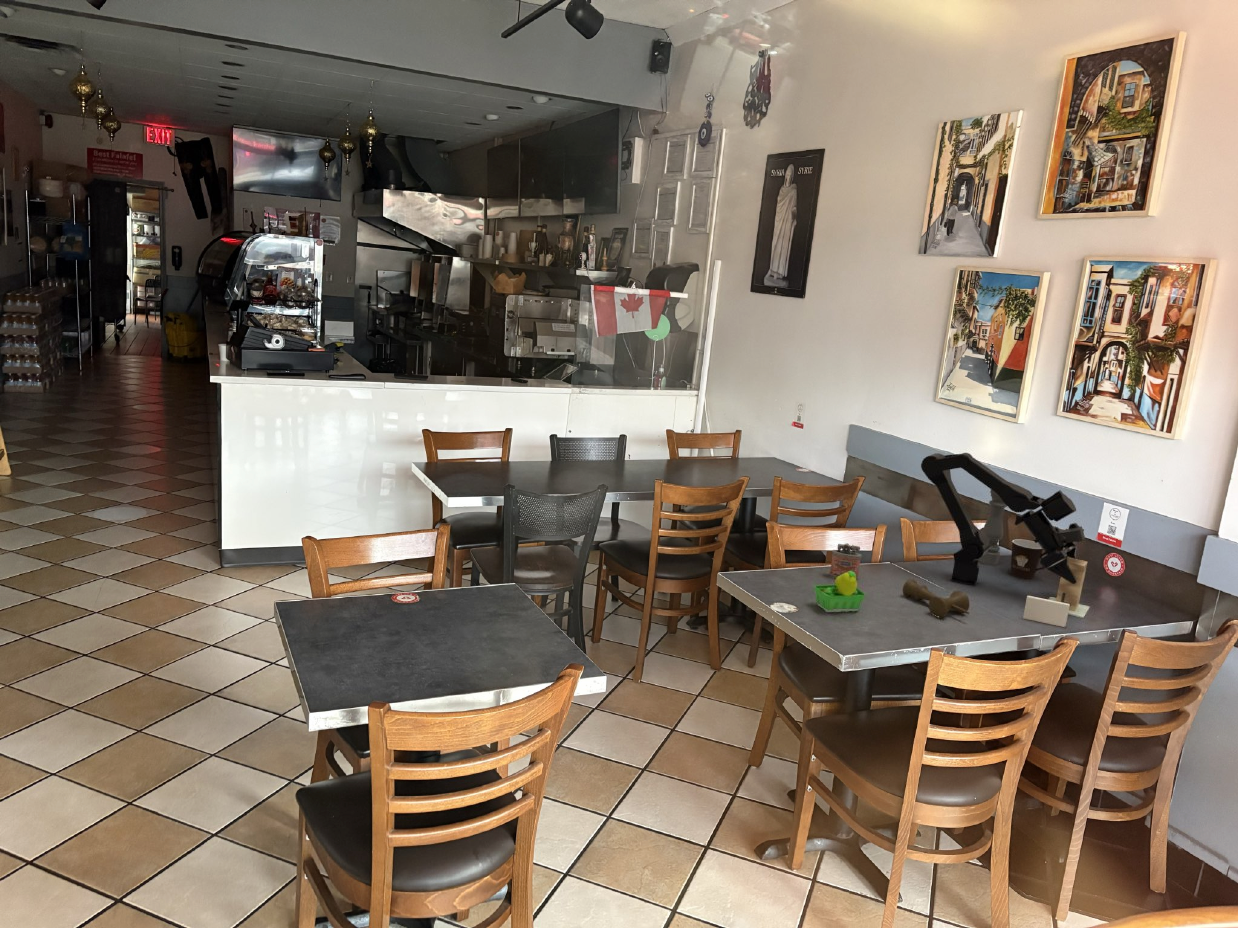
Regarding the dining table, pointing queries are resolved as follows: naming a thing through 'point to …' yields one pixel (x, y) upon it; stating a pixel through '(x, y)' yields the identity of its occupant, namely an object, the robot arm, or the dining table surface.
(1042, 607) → the screen
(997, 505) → the candle holder
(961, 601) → the kendama
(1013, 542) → the coffee mug
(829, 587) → the fruit basket
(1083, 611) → the display mat
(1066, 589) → the tan wooden tall block
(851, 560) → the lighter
